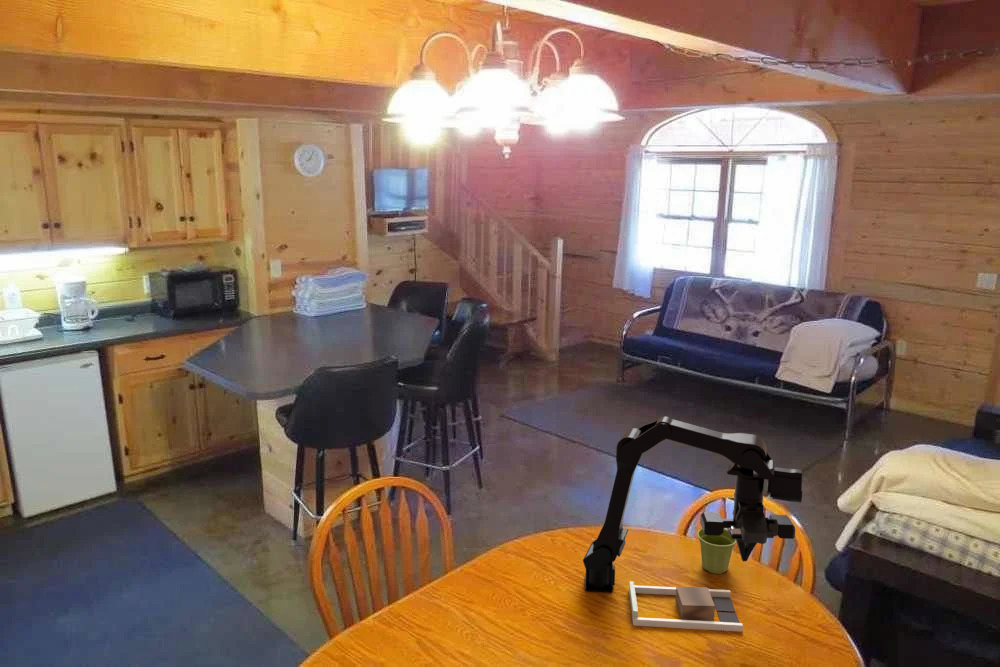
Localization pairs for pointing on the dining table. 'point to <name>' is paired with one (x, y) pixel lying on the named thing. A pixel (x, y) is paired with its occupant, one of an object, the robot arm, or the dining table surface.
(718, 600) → the pads
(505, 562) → the dining table surface
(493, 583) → the dining table surface
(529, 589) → the dining table surface
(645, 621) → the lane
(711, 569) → the plant pot
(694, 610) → the walnut block
